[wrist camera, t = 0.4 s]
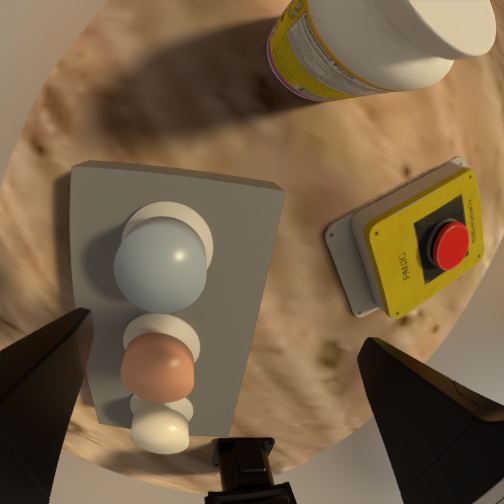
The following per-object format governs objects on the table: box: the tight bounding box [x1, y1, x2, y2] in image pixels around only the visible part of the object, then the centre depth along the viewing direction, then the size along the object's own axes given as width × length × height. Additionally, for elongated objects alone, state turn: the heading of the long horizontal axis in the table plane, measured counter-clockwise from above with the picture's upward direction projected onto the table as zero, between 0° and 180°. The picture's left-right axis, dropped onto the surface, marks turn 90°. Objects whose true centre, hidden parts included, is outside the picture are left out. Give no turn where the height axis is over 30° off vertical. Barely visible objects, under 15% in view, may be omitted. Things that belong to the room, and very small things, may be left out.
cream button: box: [130, 406, 189, 454], centre depth 19 cm, size 4×4×2 cm
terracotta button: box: [120, 332, 194, 403], centre depth 17 cm, size 4×4×2 cm
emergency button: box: [325, 156, 484, 319], centre depth 21 cm, size 9×4×15 cm
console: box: [70, 160, 285, 437], centre depth 20 cm, size 22×12×3 cm, turn 169°
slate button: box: [114, 216, 207, 314], centre depth 14 cm, size 4×4×2 cm
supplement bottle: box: [267, 0, 496, 102], centre depth 10 cm, size 7×7×13 cm
